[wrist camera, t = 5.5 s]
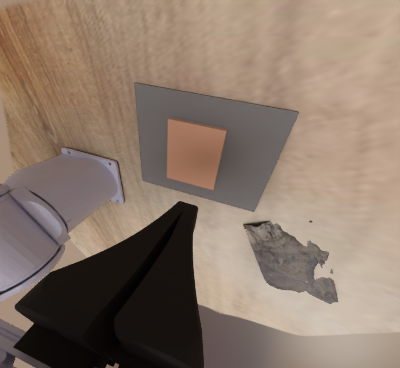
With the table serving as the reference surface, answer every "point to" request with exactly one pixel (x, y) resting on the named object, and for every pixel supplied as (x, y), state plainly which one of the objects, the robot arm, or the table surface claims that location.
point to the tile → (194, 152)
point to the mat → (233, 148)
